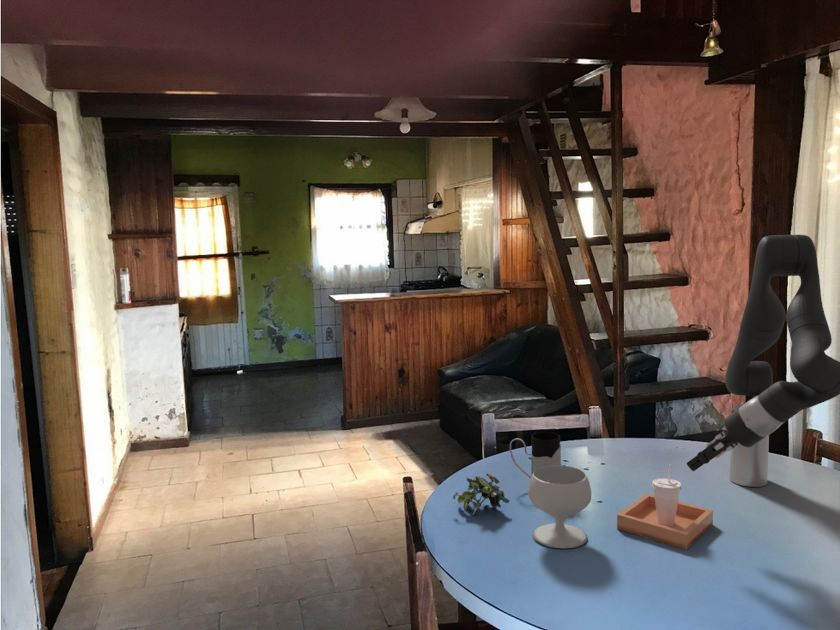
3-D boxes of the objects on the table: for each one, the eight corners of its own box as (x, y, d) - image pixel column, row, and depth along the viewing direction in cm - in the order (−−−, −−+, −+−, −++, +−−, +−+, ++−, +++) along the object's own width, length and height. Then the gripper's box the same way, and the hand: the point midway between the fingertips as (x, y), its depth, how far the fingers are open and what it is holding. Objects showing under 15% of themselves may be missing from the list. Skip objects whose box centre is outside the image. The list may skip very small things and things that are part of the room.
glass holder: (560, 497, 170) (560, 442, 168) (507, 492, 175) (506, 438, 173) (564, 485, 178) (564, 432, 176) (513, 480, 183) (512, 428, 181)
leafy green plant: (493, 527, 166) (519, 495, 162) (468, 535, 158) (495, 501, 153) (466, 493, 172) (491, 462, 168) (441, 499, 164) (466, 466, 160)
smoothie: (683, 529, 147) (684, 470, 146) (653, 527, 148) (654, 469, 147) (677, 517, 153) (679, 460, 152) (649, 515, 155) (650, 459, 153)
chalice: (555, 558, 138) (554, 490, 136) (516, 532, 151) (515, 470, 149) (604, 542, 145) (605, 477, 143) (563, 519, 157) (563, 459, 155)
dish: (646, 506, 162) (646, 493, 162) (712, 524, 151) (713, 510, 151) (617, 529, 151) (617, 514, 150) (686, 549, 140) (686, 534, 140)
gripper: (751, 399, 142) (697, 440, 151) (729, 413, 131) (672, 456, 141) (777, 427, 139) (720, 467, 148) (757, 444, 128) (697, 485, 138)
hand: (697, 461), depth 144 cm, fingers open, 8 cm apart
